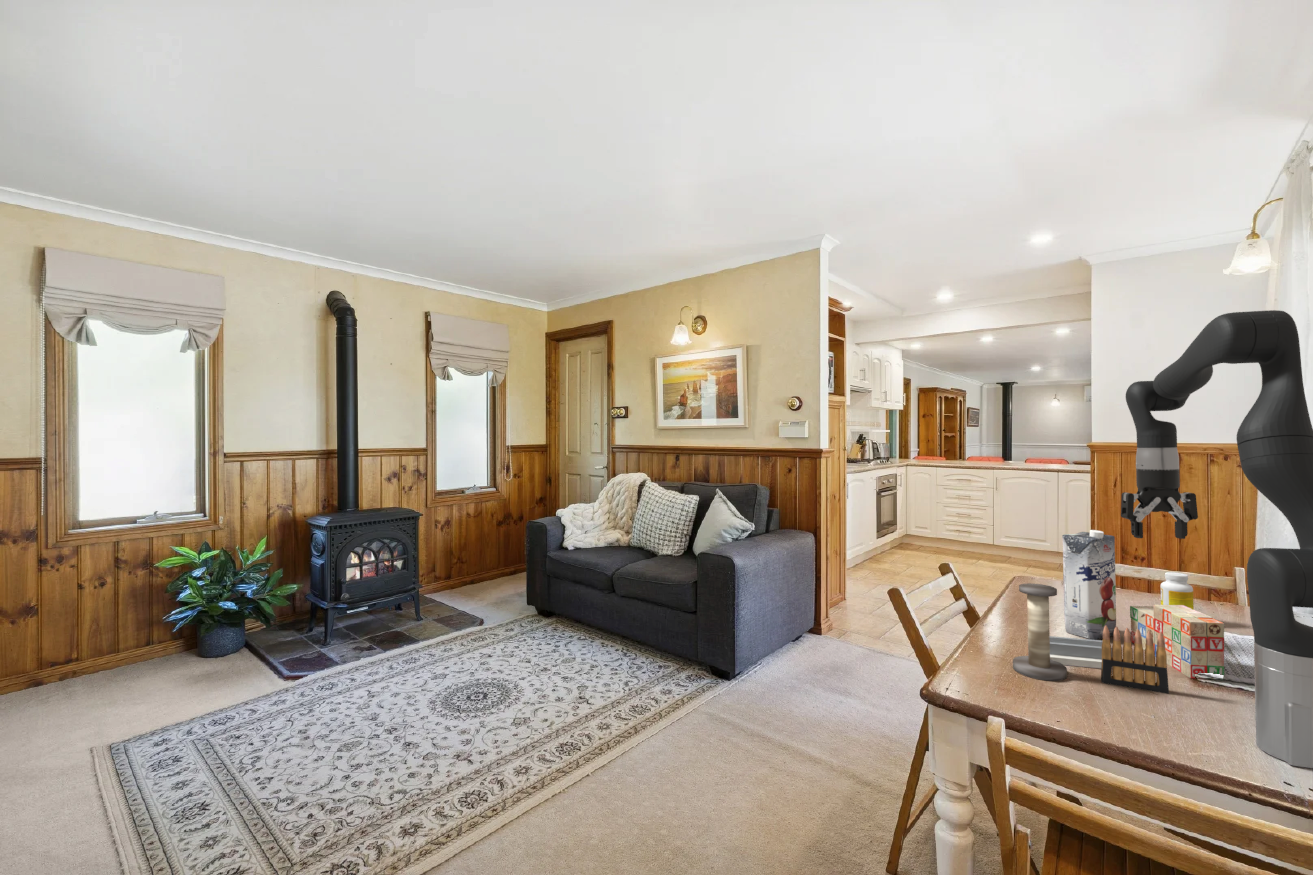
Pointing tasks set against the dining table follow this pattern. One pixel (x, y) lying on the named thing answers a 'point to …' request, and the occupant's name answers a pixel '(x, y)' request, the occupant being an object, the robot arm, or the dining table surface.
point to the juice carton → (1089, 584)
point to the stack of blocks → (1182, 637)
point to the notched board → (1076, 651)
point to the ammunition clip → (1134, 662)
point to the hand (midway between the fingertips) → (1159, 538)
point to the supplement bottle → (1176, 590)
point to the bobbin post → (1039, 637)
